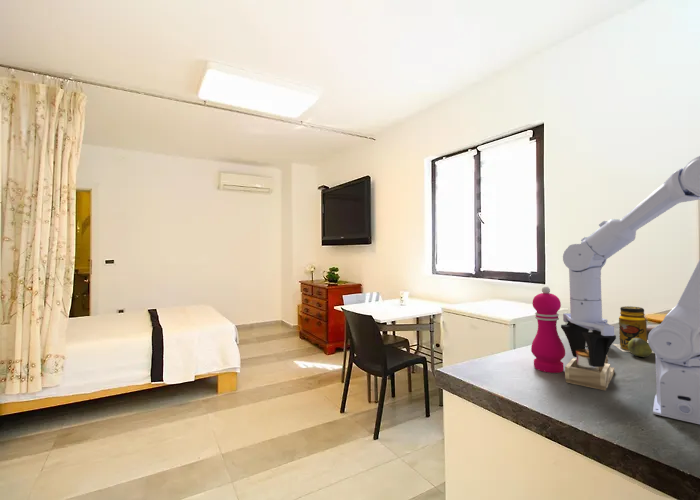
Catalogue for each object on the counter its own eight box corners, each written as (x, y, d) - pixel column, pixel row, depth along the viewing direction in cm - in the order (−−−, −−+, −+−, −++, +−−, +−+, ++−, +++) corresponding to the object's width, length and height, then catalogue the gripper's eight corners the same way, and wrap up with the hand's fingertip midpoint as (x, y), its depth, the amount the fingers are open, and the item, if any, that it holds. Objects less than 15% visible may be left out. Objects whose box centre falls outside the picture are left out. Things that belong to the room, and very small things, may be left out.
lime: (626, 353, 94) (626, 335, 94) (649, 355, 91) (649, 337, 91) (629, 358, 90) (629, 339, 90) (654, 360, 88) (653, 340, 88)
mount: (605, 391, 70) (604, 371, 70) (565, 383, 74) (564, 364, 74) (614, 372, 80) (613, 354, 80) (579, 365, 85) (578, 349, 85)
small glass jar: (604, 379, 73) (603, 354, 73) (585, 380, 73) (584, 354, 73) (590, 373, 77) (589, 348, 77) (572, 373, 77) (571, 349, 77)
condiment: (623, 352, 95) (622, 309, 95) (612, 344, 103) (610, 304, 103) (656, 354, 93) (654, 309, 93) (641, 346, 101) (640, 305, 101)
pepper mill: (531, 371, 82) (529, 287, 82) (531, 362, 88) (529, 285, 89) (567, 375, 79) (564, 288, 79) (564, 366, 85) (561, 285, 85)
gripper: (629, 303, 68) (631, 372, 67) (584, 294, 82) (585, 351, 82) (592, 304, 68) (594, 372, 68) (553, 295, 82) (555, 351, 82)
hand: (587, 361), depth 75 cm, fingers open, 6 cm apart
